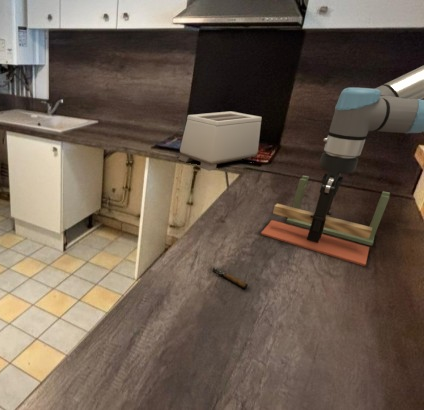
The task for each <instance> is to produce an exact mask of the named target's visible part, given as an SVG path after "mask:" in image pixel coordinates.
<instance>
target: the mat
mask: <svg viewBox="0 0 424 410" xmlns="http://www.w3.org/2000/svg"><path fill="white" fill-rule="evenodd" d="M309 230H310V229H307V228H303V227H300V226H296V225H293V224H289V223H284V222H281V221H278V220H273V219H271V220H270V221H269V222H268V224H267V225H266V226H265V227H264V229H263V230H262V231H261V232H260V235H261V236H264V237H266V238H267V237H268V238H270V239H274V240H277V241H281V242H283V243H284V242H285V243H287V244H289V245H294V246H298V247H299V248H304V249H307V250H310V251H314V252H317V253H320V254H324V255H327V256H330V257H333V258H336V259H340V260H343V261H346V262H350V263H353V264H356V265H358V266H359V265H360V266H362V267H366V265H367V261H368V256H369V251H370V246H368V245H364V244H361V243H357V242H354V241H350V240H346V239H343V238H339V237H336V236H332V235H328V234H325V233H322V235H321V238H320V239H319V242H318V243H317V242H314V241H311V240H307V237H308V233H309Z"/></svg>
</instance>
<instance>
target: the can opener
mask: <svg viewBox="0 0 424 410" xmlns="http://www.w3.org/2000/svg"><path fill="white" fill-rule="evenodd" d="M212 271H213V272H216V274H218V275H223V277H224V278H226V279H227V280H229V281H231V282H232V283H234V284H236V285H238V286H239V287H241V288H244V289H247V288H248V286H249V285H248V284H247V282H245V281H243V280H241V279H239V278H237V277H234V276H233V275H231V274H229V273H228V272H225V271H224V270H223V269H221V268H218V267H216V266H213V267H212Z"/></svg>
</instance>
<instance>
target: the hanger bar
mask: <svg viewBox="0 0 424 410" xmlns="http://www.w3.org/2000/svg"><path fill="white" fill-rule="evenodd" d="M314 213H315V212H312V211H308V210H304V209H301V208H300V209H297V208H293V207H292V206H289V205H285V204H281V203H276V204H274V207H273V211H272V214H273V215H276V216H280V217H284V218H287V219H288V218H291V219H295V220H299V221H303V222H306V223H310V224H312V220H313V218H310V217H311V215H314ZM369 226H370V225H369ZM369 226H368V225H364V224H360V223H356V222H352V221H350V220H349V221H348V220H345V219H341V218H337V217H333V216H329V215H326V221H325V224H324V227H325V228H329V229H332V230H336V231H340V232H343V233H347V234H351V235H355V236H358V237H362V238H366V239H369V237H370V234H371V232H372V227H369Z"/></svg>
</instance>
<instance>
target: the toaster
mask: <svg viewBox="0 0 424 410" xmlns="http://www.w3.org/2000/svg"><path fill="white" fill-rule="evenodd" d="M262 120H263V119H262V116H259V115H253V114H247V113H242V112H237V111H220V112H208V113H198V114H197V113H196V114H188V115H187V118H186V124H185V127H184V131H183V136H182V139H181V143H180V148H179V154H180V156H179V157H178V158H177V160H179V161H181V162H184V163H189V162H193V161H197V162H200V165H199V166H200V169H203V170H205V171H208V172H211V171H216V170H217V166H218V165H220V164H225V163H230V162H236V161H243V160H242V159H246V158H251V157H255V158H256V156H258V153H259V146H260V136H261V125H262ZM249 163H250V164H252V162H249Z"/></svg>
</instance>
